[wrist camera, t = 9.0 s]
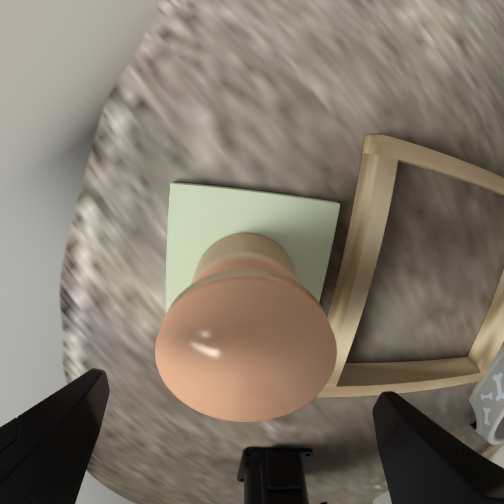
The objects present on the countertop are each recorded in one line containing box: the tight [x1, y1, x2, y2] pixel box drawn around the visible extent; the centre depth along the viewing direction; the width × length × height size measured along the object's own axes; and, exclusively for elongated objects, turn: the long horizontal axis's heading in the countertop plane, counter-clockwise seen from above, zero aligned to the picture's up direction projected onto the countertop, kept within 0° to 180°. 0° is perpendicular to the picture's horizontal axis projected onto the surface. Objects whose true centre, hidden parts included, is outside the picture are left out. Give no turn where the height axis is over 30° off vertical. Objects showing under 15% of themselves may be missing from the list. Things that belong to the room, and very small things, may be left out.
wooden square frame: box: [317, 135, 504, 397], centre depth 17 cm, size 16×16×2 cm
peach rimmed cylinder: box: [155, 233, 337, 422], centre depth 14 cm, size 7×7×7 cm
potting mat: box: [166, 182, 340, 314], centre depth 18 cm, size 10×9×1 cm
